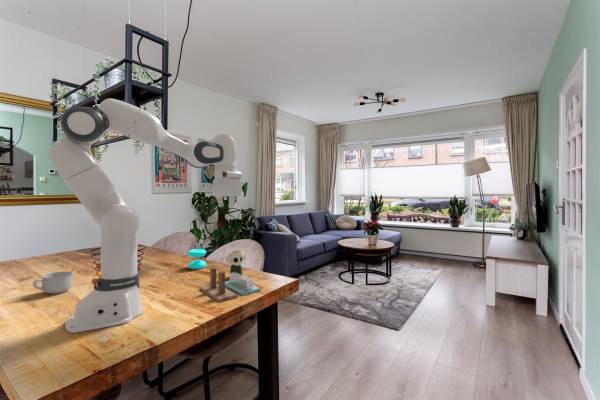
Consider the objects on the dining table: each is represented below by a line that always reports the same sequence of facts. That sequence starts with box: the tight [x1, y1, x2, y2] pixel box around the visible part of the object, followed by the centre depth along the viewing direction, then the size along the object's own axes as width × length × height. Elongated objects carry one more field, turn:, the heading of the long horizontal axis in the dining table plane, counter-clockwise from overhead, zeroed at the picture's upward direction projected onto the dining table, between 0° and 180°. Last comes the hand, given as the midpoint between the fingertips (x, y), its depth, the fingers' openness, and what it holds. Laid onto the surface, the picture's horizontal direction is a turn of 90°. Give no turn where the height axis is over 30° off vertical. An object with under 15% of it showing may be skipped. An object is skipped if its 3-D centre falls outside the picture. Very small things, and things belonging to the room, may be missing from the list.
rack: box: [199, 266, 238, 303], centre depth 127 cm, size 8×20×10 cm, turn 40°
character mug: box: [225, 249, 246, 275], centre depth 152 cm, size 11×7×13 cm, turn 130°
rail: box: [229, 272, 254, 290], centre depth 134 cm, size 3×16×4 cm, turn 40°
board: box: [225, 280, 261, 296], centre depth 134 cm, size 9×19×1 cm, turn 40°
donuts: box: [187, 248, 207, 270], centre depth 171 cm, size 10×10×10 cm
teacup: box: [32, 270, 74, 295], centre depth 128 cm, size 14×11×8 cm
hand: (225, 207), depth 124 cm, fingers open, 8 cm apart
